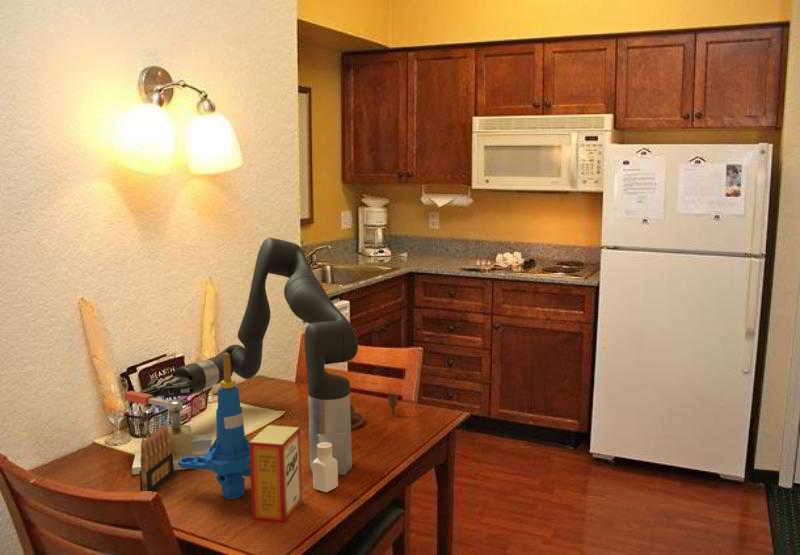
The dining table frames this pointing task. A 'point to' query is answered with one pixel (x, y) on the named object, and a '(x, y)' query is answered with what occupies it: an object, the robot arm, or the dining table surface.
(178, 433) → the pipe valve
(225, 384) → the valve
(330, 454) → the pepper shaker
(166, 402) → the valve lever
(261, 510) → the baking soda box
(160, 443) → the ammunition clip
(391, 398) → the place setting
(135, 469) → the mounting board
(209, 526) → the dining table surface
